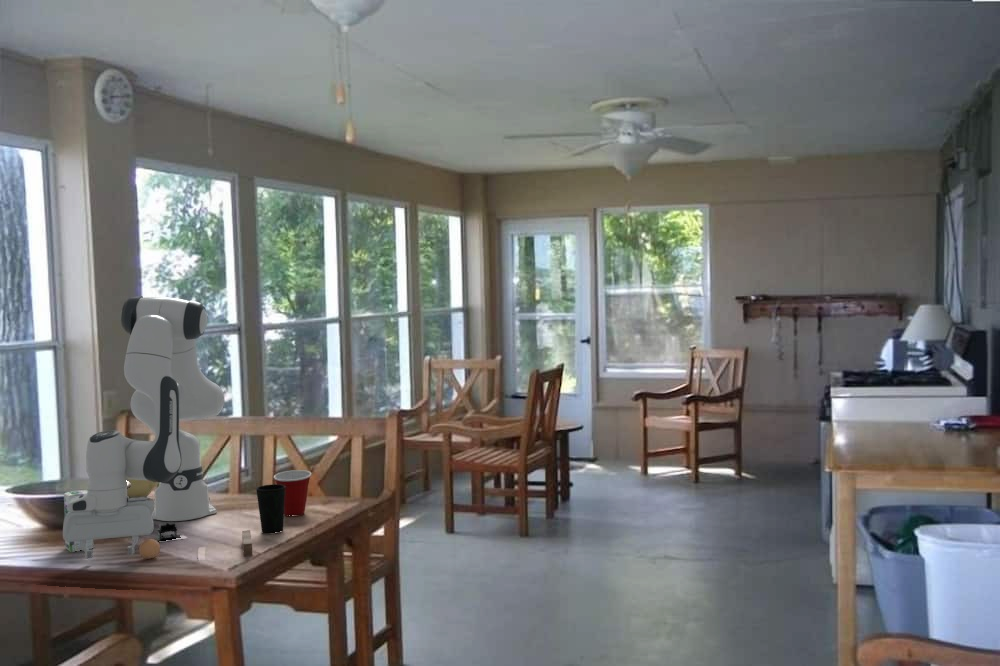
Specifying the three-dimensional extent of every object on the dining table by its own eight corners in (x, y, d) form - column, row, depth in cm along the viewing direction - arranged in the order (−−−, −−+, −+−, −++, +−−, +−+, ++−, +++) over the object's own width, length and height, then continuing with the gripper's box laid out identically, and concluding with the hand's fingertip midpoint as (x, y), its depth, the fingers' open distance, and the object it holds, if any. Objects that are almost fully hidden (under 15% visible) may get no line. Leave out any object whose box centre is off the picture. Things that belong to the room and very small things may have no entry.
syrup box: (64, 548, 240) (62, 492, 240) (89, 544, 244) (86, 489, 243) (70, 553, 236) (67, 495, 235) (95, 548, 239) (92, 492, 239)
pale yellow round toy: (158, 501, 295) (156, 467, 295) (117, 504, 293) (116, 470, 292) (162, 494, 305) (161, 462, 304) (123, 497, 302) (121, 464, 302)
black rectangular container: (144, 547, 242) (143, 530, 241) (141, 541, 248) (140, 524, 248) (194, 540, 247) (193, 522, 247) (189, 534, 254) (188, 517, 254)
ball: (140, 556, 230) (139, 537, 230) (160, 554, 232) (160, 535, 231) (138, 562, 226) (137, 542, 225) (159, 560, 227) (158, 540, 227)
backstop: (242, 542, 242) (242, 530, 241) (250, 541, 242) (250, 530, 242) (243, 556, 228) (243, 544, 228) (252, 555, 229) (251, 543, 229)
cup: (279, 535, 248) (277, 490, 247) (252, 534, 250) (251, 489, 249) (291, 528, 255) (290, 484, 255) (265, 527, 257) (264, 484, 257)
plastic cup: (269, 519, 267) (267, 477, 267) (282, 510, 278) (280, 470, 277) (306, 519, 266) (304, 477, 265) (317, 510, 276) (316, 469, 276)
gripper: (154, 492, 231) (156, 548, 232) (64, 500, 226) (67, 556, 226) (152, 498, 225) (155, 554, 226) (60, 505, 220) (62, 563, 220)
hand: (110, 555), depth 226 cm, fingers open, 8 cm apart
